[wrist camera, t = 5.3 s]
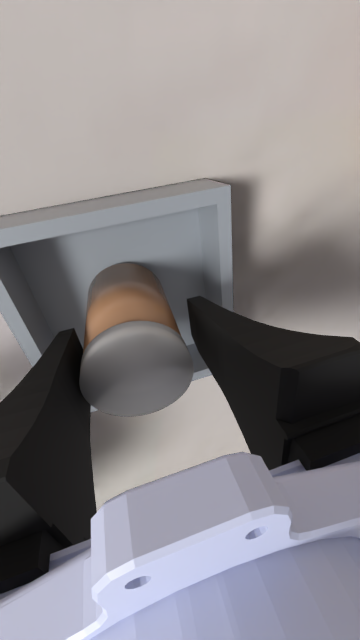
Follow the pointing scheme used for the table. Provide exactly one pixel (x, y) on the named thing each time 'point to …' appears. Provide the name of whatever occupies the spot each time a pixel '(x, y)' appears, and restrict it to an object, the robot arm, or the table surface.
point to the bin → (115, 257)
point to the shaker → (132, 344)
